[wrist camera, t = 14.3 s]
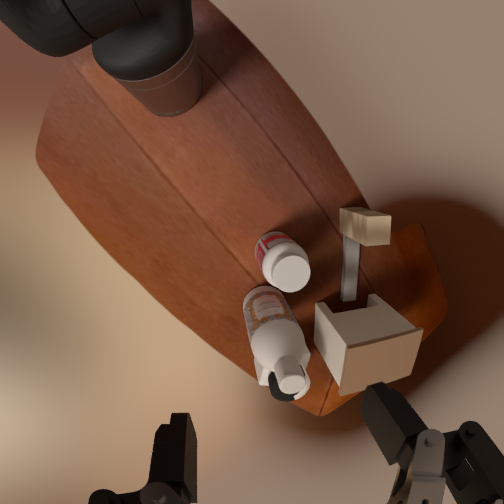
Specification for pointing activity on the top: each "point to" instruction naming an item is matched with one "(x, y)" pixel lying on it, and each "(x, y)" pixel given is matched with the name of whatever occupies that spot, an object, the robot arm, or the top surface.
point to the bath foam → (275, 336)
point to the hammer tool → (355, 232)
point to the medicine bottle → (270, 379)
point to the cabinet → (366, 344)
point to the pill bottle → (282, 261)
